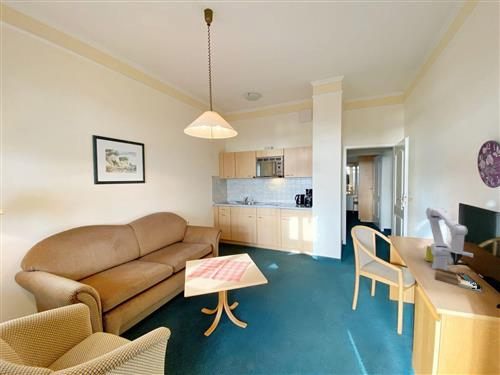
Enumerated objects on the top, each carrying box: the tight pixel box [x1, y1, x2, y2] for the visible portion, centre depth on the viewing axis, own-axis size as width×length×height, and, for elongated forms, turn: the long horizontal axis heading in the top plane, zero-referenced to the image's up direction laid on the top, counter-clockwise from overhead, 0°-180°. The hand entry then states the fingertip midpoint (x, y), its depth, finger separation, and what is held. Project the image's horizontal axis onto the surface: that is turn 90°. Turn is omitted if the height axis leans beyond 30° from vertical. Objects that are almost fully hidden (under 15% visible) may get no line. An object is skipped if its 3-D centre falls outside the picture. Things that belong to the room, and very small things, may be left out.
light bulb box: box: [447, 246, 456, 265], centre depth 159 cm, size 11×7×11 cm, turn 113°
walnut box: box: [434, 268, 458, 286], centre depth 133 cm, size 10×10×4 cm
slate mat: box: [457, 283, 483, 294], centre depth 126 cm, size 12×10×1 cm
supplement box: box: [425, 245, 434, 264], centre depth 160 cm, size 6×6×11 cm
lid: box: [457, 275, 477, 289], centre depth 127 cm, size 7×8×3 cm
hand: (455, 264), depth 134 cm, fingers closed
